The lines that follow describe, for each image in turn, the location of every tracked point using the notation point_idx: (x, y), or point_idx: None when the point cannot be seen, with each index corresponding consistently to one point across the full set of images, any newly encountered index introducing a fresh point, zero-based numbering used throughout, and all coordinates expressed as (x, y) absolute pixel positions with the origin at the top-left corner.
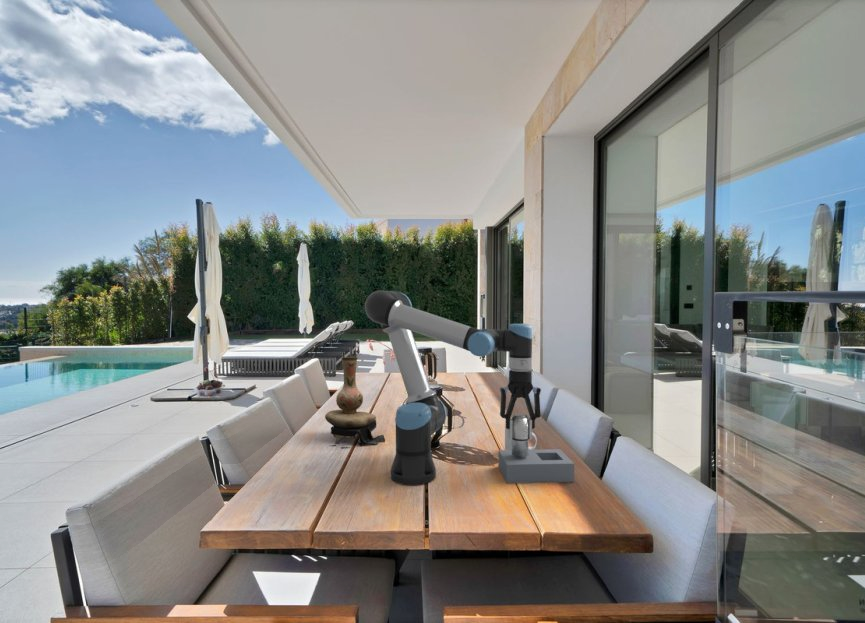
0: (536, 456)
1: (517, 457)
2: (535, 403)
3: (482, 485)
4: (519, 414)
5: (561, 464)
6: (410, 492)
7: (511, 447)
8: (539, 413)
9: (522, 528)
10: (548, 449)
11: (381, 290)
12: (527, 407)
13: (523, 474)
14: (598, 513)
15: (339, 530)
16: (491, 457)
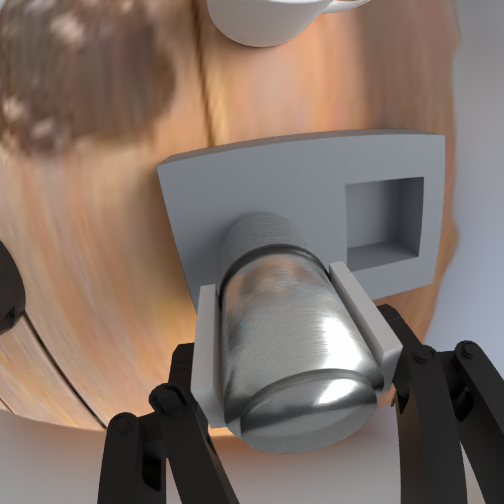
0: (337, 232)
1: None
2: (486, 460)
3: (138, 313)
4: (312, 410)
5: (397, 291)
6: (23, 347)
7: (235, 29)
8: (461, 401)
9: None
10: (406, 135)
11: None
12: (415, 454)
13: None
14: None
15: (31, 418)
16: (146, 52)
